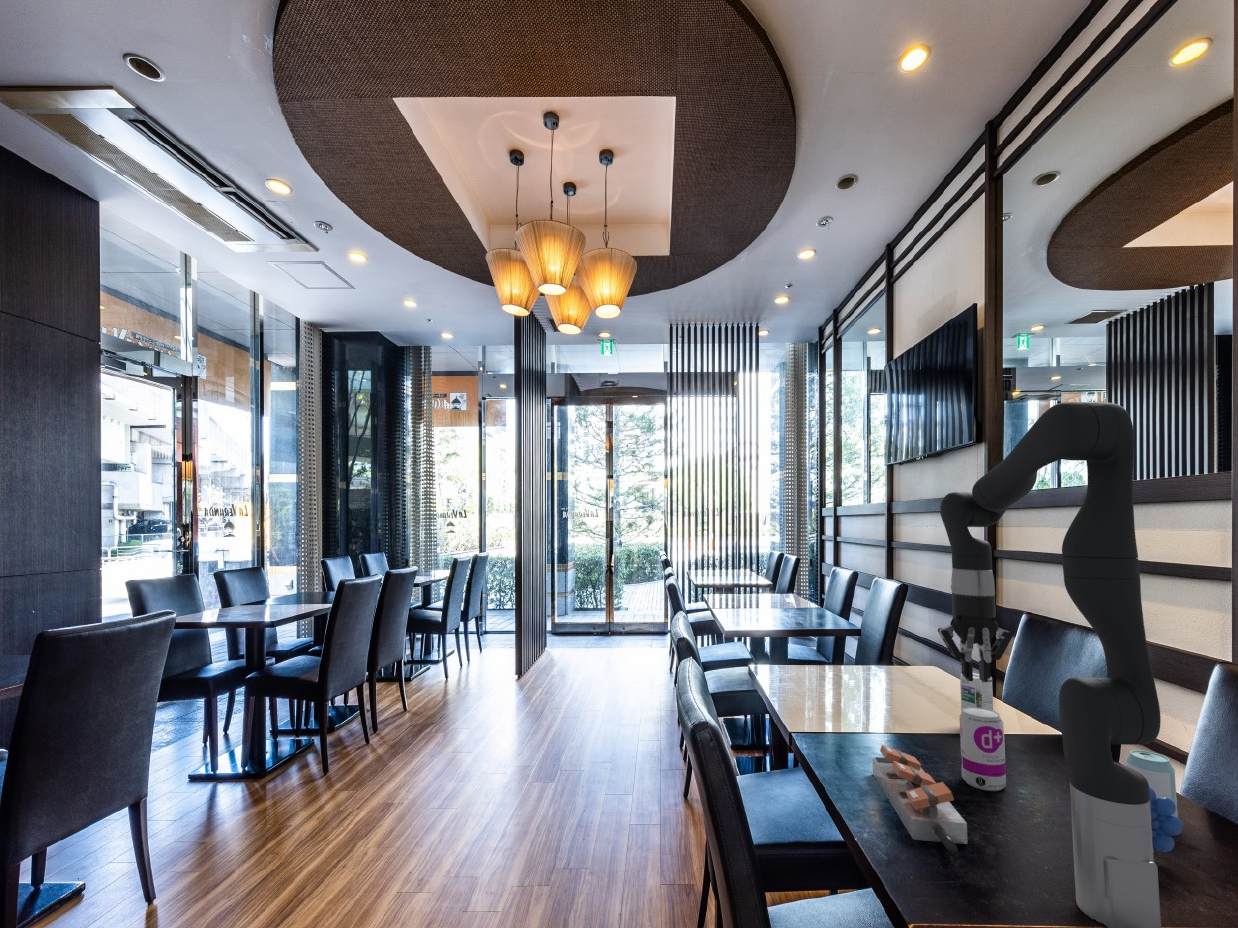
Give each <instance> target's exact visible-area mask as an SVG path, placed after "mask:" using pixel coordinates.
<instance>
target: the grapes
mask: <svg viewBox="0 0 1238 928" xmlns="http://www.w3.org/2000/svg"><path fill="white" fill-rule="evenodd" d="M1149 791H1150V809H1151V827H1152V843H1153V854H1154V853H1155V851H1158V852H1160V853H1169V852H1171V851H1172V850H1173V849H1174V847H1175V841H1174V838H1173V837H1172V836H1178V835H1179V834H1181V833H1182V832H1183V829H1184V825H1183V822H1182V820H1181V819H1180V818H1179V817H1178V818H1177V817H1175V816H1171V815H1173V814H1174V812H1175V810H1176V806H1175V804H1174V802H1173V801H1172V800H1171V799H1170V798H1166V797H1158V798H1156V794H1155V791H1154V790H1153V789H1152V788H1151V787H1149ZM1154 849H1155V850H1154Z"/></svg>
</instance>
